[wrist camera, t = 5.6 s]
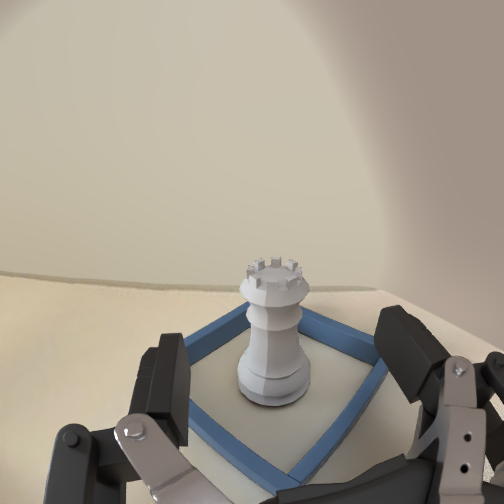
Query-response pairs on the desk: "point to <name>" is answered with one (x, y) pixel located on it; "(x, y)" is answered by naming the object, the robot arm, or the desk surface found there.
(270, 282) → the rook chess piece
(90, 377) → the desk surface
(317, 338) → the blue tray
